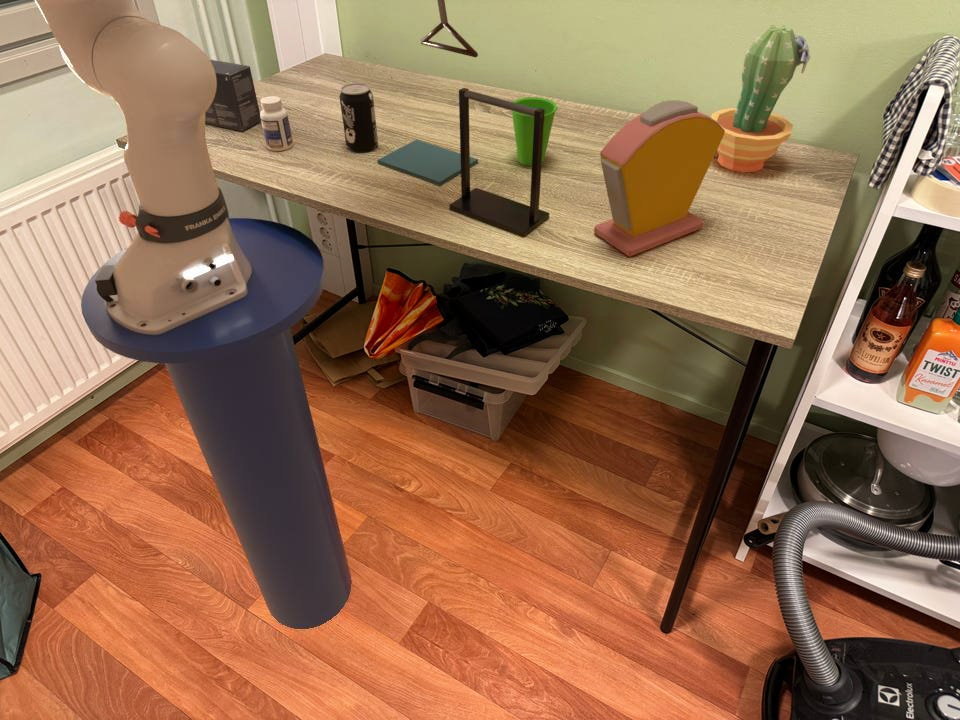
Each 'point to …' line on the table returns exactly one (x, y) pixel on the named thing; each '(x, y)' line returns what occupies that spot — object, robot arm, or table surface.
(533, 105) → the cup
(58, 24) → the robot arm
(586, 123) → the table surface
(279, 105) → the pill bottle
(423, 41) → the hanger
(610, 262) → the table surface
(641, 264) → the table surface
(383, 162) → the mat
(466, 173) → the rack
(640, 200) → the yellow fan-shaped flat fixture
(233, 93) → the small box
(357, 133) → the beverage can
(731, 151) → the potted cactus
